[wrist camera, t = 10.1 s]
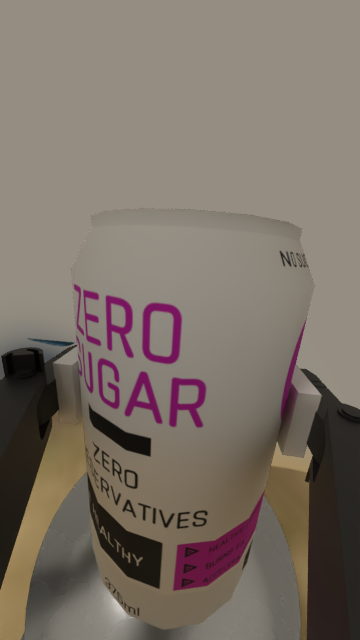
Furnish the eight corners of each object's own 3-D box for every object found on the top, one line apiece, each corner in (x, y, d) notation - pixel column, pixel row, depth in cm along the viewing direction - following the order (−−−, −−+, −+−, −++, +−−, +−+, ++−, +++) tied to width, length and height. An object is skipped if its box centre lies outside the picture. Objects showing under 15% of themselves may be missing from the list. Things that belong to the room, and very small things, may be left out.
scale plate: (-51, 753, 9) (-79, 713, 7) (116, 453, 22) (115, 421, 21) (335, 985, 6) (382, 976, 5) (261, 490, 19) (270, 456, 18)
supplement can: (231, 457, 16) (268, 243, 12) (269, 654, 8) (427, 216, 4) (122, 447, 16) (120, 233, 12) (57, 627, 8) (-20, 189, 4)
